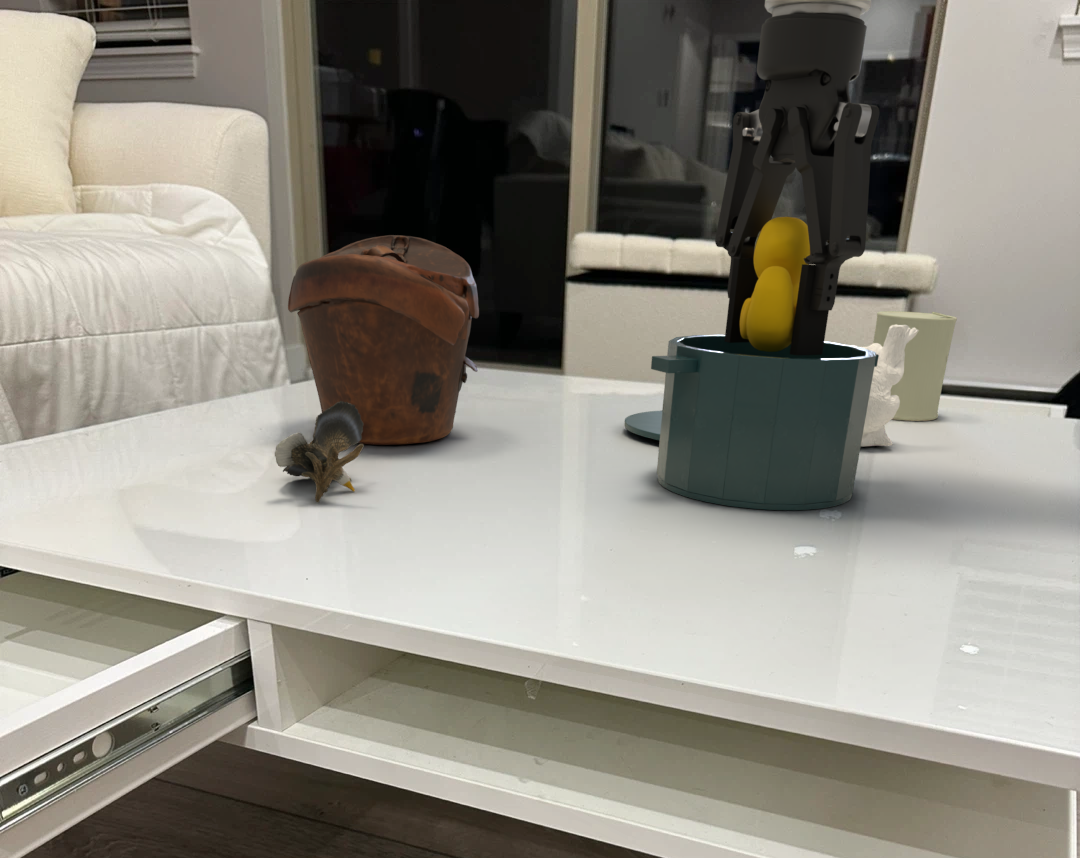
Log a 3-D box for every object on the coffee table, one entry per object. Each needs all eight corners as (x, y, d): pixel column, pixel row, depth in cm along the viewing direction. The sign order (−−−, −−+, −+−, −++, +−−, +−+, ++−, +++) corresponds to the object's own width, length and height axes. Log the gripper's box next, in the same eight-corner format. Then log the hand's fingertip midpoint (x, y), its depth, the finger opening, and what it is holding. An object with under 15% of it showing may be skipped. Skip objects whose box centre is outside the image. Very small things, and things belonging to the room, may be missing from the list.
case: (344, 461, 93) (336, 238, 85) (268, 421, 108) (255, 229, 100) (517, 447, 102) (524, 244, 94) (424, 412, 117) (423, 235, 109)
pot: (916, 498, 90) (945, 356, 85) (709, 521, 80) (727, 362, 75) (788, 458, 103) (805, 333, 98) (595, 473, 93) (604, 336, 88)
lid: (829, 447, 108) (835, 406, 107) (688, 458, 100) (693, 413, 99) (723, 417, 122) (727, 380, 120) (592, 425, 114) (595, 385, 113)
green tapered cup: (935, 423, 125) (957, 316, 119) (856, 415, 127) (874, 310, 122) (938, 412, 132) (959, 311, 127) (863, 405, 135) (880, 305, 130)
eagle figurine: (393, 487, 80) (384, 442, 87) (338, 410, 76) (334, 369, 83) (310, 538, 81) (308, 489, 88) (252, 465, 77) (255, 420, 84)
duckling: (743, 341, 93) (758, 215, 88) (805, 345, 91) (824, 218, 87) (728, 355, 83) (744, 214, 78) (798, 360, 81) (818, 217, 77)
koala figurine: (879, 437, 115) (900, 320, 110) (920, 450, 109) (944, 328, 104) (814, 440, 112) (832, 320, 107) (852, 453, 106) (873, 327, 101)
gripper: (690, 27, 83) (662, 334, 93) (880, -11, 67) (822, 366, 77) (764, 38, 86) (730, 333, 96) (962, 5, 70) (897, 363, 80)
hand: (771, 347), depth 86 cm, fingers closed on duckling, 8 cm apart
